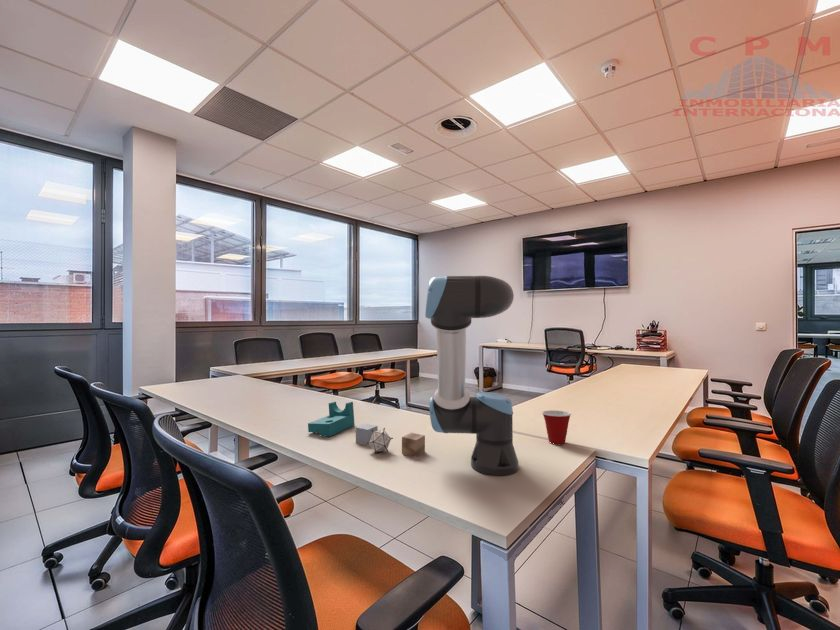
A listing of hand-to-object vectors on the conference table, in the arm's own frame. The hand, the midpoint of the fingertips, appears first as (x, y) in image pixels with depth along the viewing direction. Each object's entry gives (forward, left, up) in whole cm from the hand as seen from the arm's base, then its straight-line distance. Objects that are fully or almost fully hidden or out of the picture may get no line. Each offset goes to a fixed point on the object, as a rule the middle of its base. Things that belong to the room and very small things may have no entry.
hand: (453, 376), depth 149 cm
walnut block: (+4, +24, -25) cm, 35 cm away
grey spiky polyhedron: (+15, +30, -25) cm, 41 cm away
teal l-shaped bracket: (+49, +20, -25) cm, 58 cm away
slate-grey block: (+26, +24, -25) cm, 43 cm away
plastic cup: (-37, -15, -25) cm, 47 cm away
